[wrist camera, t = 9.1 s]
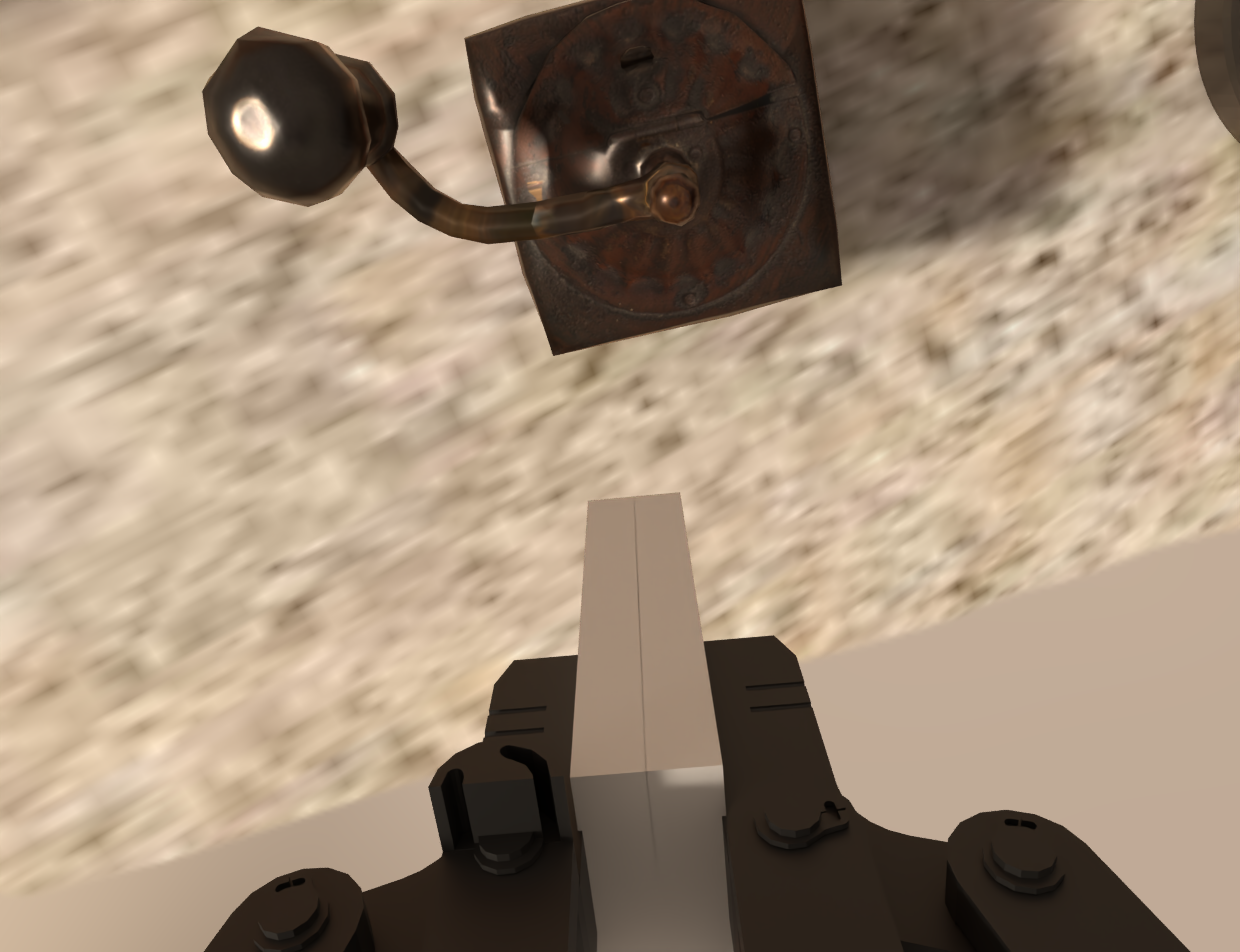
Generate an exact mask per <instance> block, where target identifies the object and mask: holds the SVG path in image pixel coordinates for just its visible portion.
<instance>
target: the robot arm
mask: <svg viewBox="0 0 1240 952" xmlns="http://www.w3.org/2000/svg"><path fill="white" fill-rule="evenodd" d="M1194 27H1195V44H1196V53H1197V59H1198V65H1199V69H1200V73H1201V77H1202V81H1203V83H1204V86H1205V89H1206V92H1207V95H1208V97H1209V99H1210V101H1211V103H1212V106H1213V108H1214V109H1215V111H1216V113H1217V115H1218V116H1219V118H1220V120H1221V121H1222V122H1223V124H1224V125H1225V127H1226V128H1227V130H1228V131H1229V132H1230V133H1231V134H1232V135H1233V137H1234V138H1235V139H1236V140H1237V141H1238V142H1239V143H1240V0H1196V1H1195V18H1194ZM428 788H429V792H430V797H431V801H432V806H433V810H434V814H435V819H436V823H437V828H438V832H439V837H440V841H441V845H442V850H443V854H442V857H441V858H439V859H438V860H437V861H435V862H434V863H432V864H431V865H429V866H427V867H426V868H424V869H423V870H421V871H419V872H417V873H414V874H412V875H410V876H407V877H405V878H403V879H400V880H397V881H394V882H391V883H388V884H385V885H383V886H380V887H377V888H374V889H371V890H368V891H365V892H362V891H361V888H360V887H359V886H358V884H357V883H356V882H355V881H354V880H353V879H352V878H351V877H350V876H349V875H348V874H346V873H343V872H340V871H337V870H334V869H330V868H312V869H301V870H298V871H295V872H292V873H289V874H286V875H283V876H280V877H277V878H275V879H274V880H272V881H271V882H269V883H267V884H266V885H264V886H262V887H261V888H259V889H258V890H256V891H254V892H253V893H251V894H250V895H249V897H248V898H247V899H245V901H244V902H243V903H242V904H241V905H240V906H239V907H238V908H237V909H236V910H235V911H234V912H233V913H232V914H231V915H230V917H229V918H228V919H227V921H226V922H225V924H224V925H223V926H222V928H221V929H220V930H219V932H218V933H217V934H216V936H215V937H214V939H213V940H212V941H211V943H210V944H209V945H208V947H207V948H206V949H205V951H204V952H1190V951H1189V950H1188V949H1187V948H1186V947H1185V946H1184V945H1183V944H1182V943H1181V942H1180V941H1179V940H1178V938H1177V937H1176V936H1175V935H1174V934H1173V933H1172V932H1171V931H1170V930H1169V929H1168V928H1167V927H1166V926H1165V925H1164V924H1163V923H1162V922H1161V921H1160V920H1159V919H1158V918H1157V917H1156V916H1155V915H1154V914H1153V913H1152V912H1151V910H1150V909H1149V908H1148V907H1147V906H1146V905H1145V904H1144V903H1143V902H1142V901H1141V900H1140V899H1139V898H1138V897H1137V896H1136V895H1135V894H1134V893H1133V892H1132V891H1131V890H1130V889H1129V888H1128V887H1127V886H1126V885H1125V884H1124V883H1123V882H1122V880H1121V879H1120V878H1118V876H1117V875H1116V874H1115V873H1114V872H1113V871H1112V870H1111V869H1110V868H1109V867H1108V866H1107V865H1106V864H1105V863H1104V862H1103V861H1102V860H1101V859H1100V858H1099V857H1098V856H1097V855H1096V854H1095V853H1094V852H1093V851H1092V850H1091V848H1090V847H1088V845H1087V844H1086V843H1084V842H1083V841H1082V840H1080V839H1079V838H1078V837H1077V836H1075V835H1074V834H1073V833H1071V832H1070V831H1069V830H1067V829H1066V828H1065V827H1063V826H1061V825H1059V824H1057V823H1054V822H1052V821H1050V820H1047V819H1045V818H1043V817H1040V816H1038V815H1035V814H1030V813H1023V812H1017V811H1011V810H1000V811H991V812H982V813H979V814H977V815H975V816H973V817H971V818H969V819H966V820H964V821H963V822H960V823H959V825H958V826H957V827H956V829H955V830H954V832H953V833H952V834H951V836H950V837H949V838H948V842H943V841H938V840H932V839H926V838H920V837H914V836H909V835H905V834H901V833H898V832H893V831H890V830H887V829H885V828H883V827H881V826H878V825H876V824H874V823H872V822H870V821H868V820H867V819H866V818H864V817H863V816H861V815H860V814H858V813H857V812H856V811H855V809H854V807H853V806H852V804H851V803H850V801H849V800H848V799H846V798H845V797H844V796H842V795H841V793H840V791H839V789H838V787H837V784H836V781H835V778H834V775H833V772H832V768H831V765H830V762H829V759H828V756H827V753H826V749H825V746H824V743H823V740H822V737H821V734H820V731H819V727H818V724H817V721H816V718H815V714H814V711H813V708H812V707H811V702H810V698H809V695H808V692H807V689H806V686H804V679H803V676H802V673H801V670H800V667H799V663H798V660H797V657H796V655H795V654H793V653H792V652H791V651H790V650H789V649H788V648H787V647H786V646H785V645H784V644H783V643H781V642H780V641H779V640H778V639H777V638H776V637H775V636H774V635H773V636H762V637H750V638H739V639H727V640H715V641H704V642H703V636H702V630H701V623H700V617H699V611H698V604H697V598H696V591H695V585H694V579H693V572H692V566H691V560H690V553H689V547H688V540H687V534H686V528H685V521H684V515H683V508H682V502H681V496H680V493H669V494H658V495H647V496H636V497H625V498H614V499H603V500H592V501H588V510H587V525H586V540H585V555H584V571H583V586H582V601H581V617H580V632H579V647H578V655H572V656H560V657H548V658H537V659H525V660H514V661H513V662H512V664H511V665H510V666H509V667H508V668H507V670H506V671H505V672H504V673H503V675H502V676H501V677H500V678H499V679H498V681H497V682H496V683H495V684H494V689H493V694H492V699H491V704H490V709H489V716H488V719H487V724H486V729H485V738H484V739H483V742H480V743H477V744H475V745H473V746H471V747H468V748H466V749H464V750H462V751H460V752H458V753H456V754H455V755H453V756H452V757H451V758H450V759H449V760H448V761H447V762H445V763H444V764H443V765H442V766H441V767H440V768H439V769H438V770H437V772H436V774H435V776H434V777H433V779H432V781H431V783H430V785H429V787H428Z"/></svg>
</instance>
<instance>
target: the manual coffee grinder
mask: <svg viewBox="0 0 1240 952" xmlns="http://www.w3.org/2000/svg"><path fill="white" fill-rule="evenodd" d="M464 39H465V45H466V51H467V56H468V62H469V68H470V74H471V80H472V86H473V92H474V98H475V102H476V106H477V109H478V112H479V116H480V120H481V124H482V128H483V132H484V135H485V138H486V142H487V145H488V149H489V152H490V156H491V159H492V163H493V166H494V169H495V173H496V176H497V180H498V183H499V187H500V190H501V194H502V197H503V201H504V204H505V205H501V206H493V207H484V206H476V205H468V204H462V203H460V202H458V201H457V200H455V199H453V198H451V197H449V196H448V195H446V194H444V193H442V192H440V191H438V190H437V189H435V188H434V187H433V186H432V185H431V184H430V183H429V182H428V181H427V180H426V179H425V178H424V177H423V176H422V175H421V174H420V173H419V172H418V171H417V170H416V169H415V168H414V167H413V166H412V165H411V164H410V163H409V162H408V161H407V160H406V159H405V158H404V157H403V156H402V155H401V154H400V153H399V152H398V151H397V150H396V149H395V148H394V143H395V139H396V135H397V130H398V118H397V110H396V101H395V93H394V92H393V91H392V90H391V88H390V87H389V86H388V85H387V83H386V82H385V81H384V80H383V78H382V77H381V76H380V75H379V73H378V72H377V71H376V70H375V68H374V67H373V66H372V64H371V63H370V62H367V61H362V60H358V59H354V58H350V57H346V56H342V55H338V54H335V53H334V52H333V51H332V50H331V49H330V48H329V47H328V46H326V45H324V44H321V43H319V42H316V41H313V40H309V39H305V38H301V37H297V36H293V35H289V34H285V33H281V32H277V31H273V30H269V29H265V28H261V27H256V28H255V29H253V30H252V31H250V32H248V33H247V34H245V35H243V36H242V37H240V38H238V39H237V40H236V42H235V43H234V45H233V46H232V48H231V49H230V51H229V52H228V54H227V55H226V57H225V58H224V60H223V61H222V63H221V64H220V66H219V67H218V69H217V70H216V71H215V72H214V73H213V75H212V76H211V77H210V78H209V80H208V81H207V83H206V85H205V87H204V89H203V91H202V93H203V100H204V108H205V115H206V122H207V130H208V135H209V137H210V138H211V140H212V141H213V143H214V145H215V146H216V148H217V149H218V151H219V153H220V154H221V156H222V158H223V159H224V161H225V162H226V164H227V166H228V167H229V169H230V171H231V172H232V174H234V175H235V176H236V177H238V178H239V179H240V180H241V181H243V182H244V183H245V184H246V185H248V186H249V187H250V188H251V189H253V190H254V191H255V192H257V193H258V194H259V195H261V196H262V197H266V198H270V199H275V200H279V201H284V202H288V203H293V204H297V205H302V206H306V207H309V206H312V205H315V204H318V203H321V202H323V201H326V200H329V199H331V198H333V197H336V196H338V195H340V194H342V193H343V192H344V190H345V189H346V188H347V187H348V186H349V185H350V183H351V182H352V181H353V180H354V179H355V178H356V176H357V175H358V174H359V173H360V172H361V171H362V169H363V168H364V167H367V168H368V169H369V171H370V172H371V173H372V174H373V176H374V177H375V178H376V180H377V181H378V182H379V183H380V185H381V186H382V187H383V189H384V190H385V191H386V192H387V194H388V195H389V196H390V198H391V199H392V200H394V201H395V202H396V203H397V204H399V205H400V206H401V207H402V208H403V209H405V210H406V211H407V212H408V213H409V214H411V215H412V216H413V217H414V218H416V219H417V220H418V221H420V222H422V223H424V224H426V225H428V226H430V227H432V228H434V229H436V230H438V231H441V232H443V233H445V234H447V235H449V236H451V237H456V238H461V239H466V240H471V241H476V242H481V243H485V244H494V243H505V242H515V246H516V250H517V254H518V257H519V261H520V265H521V269H522V273H523V276H524V278H525V281H526V283H527V286H528V288H529V291H530V293H531V296H532V299H533V301H534V304H535V306H536V309H537V311H538V314H539V316H540V319H541V321H542V324H543V326H544V329H545V332H546V335H547V338H548V341H549V344H550V347H551V350H552V354H553V356H555V355H560V354H564V353H568V352H573V351H577V350H582V349H586V348H590V347H595V346H599V345H603V344H608V343H612V342H617V341H621V340H625V339H630V338H634V337H639V336H643V335H647V334H652V333H656V332H661V331H665V330H670V329H674V328H679V327H683V326H688V325H693V324H697V323H702V322H706V321H711V320H715V319H720V318H724V317H729V316H733V315H736V314H740V313H743V312H746V311H750V310H753V309H757V308H760V307H764V306H767V305H770V304H774V303H777V302H781V301H784V300H788V299H791V298H794V297H798V296H801V295H805V294H808V293H812V292H815V291H820V290H824V289H828V288H833V287H837V286H841V285H842V280H841V268H840V256H839V244H838V232H837V221H836V214H835V207H834V200H833V193H832V186H831V179H830V172H829V165H828V158H827V151H826V145H825V138H824V131H823V124H822V117H821V110H820V103H819V96H818V89H817V82H816V76H815V69H814V62H813V55H812V48H811V42H810V37H809V31H808V26H807V20H806V15H805V9H804V4H803V0H584V1H580V2H576V3H573V4H569V5H565V6H561V7H558V8H554V9H550V10H546V11H543V12H539V13H535V14H531V15H527V16H524V17H522V18H519V19H516V20H513V21H510V22H508V23H505V24H502V25H499V26H496V27H494V28H491V29H488V30H485V31H483V32H480V33H477V34H474V35H471V36H469V37H466V38H464Z"/></svg>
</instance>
